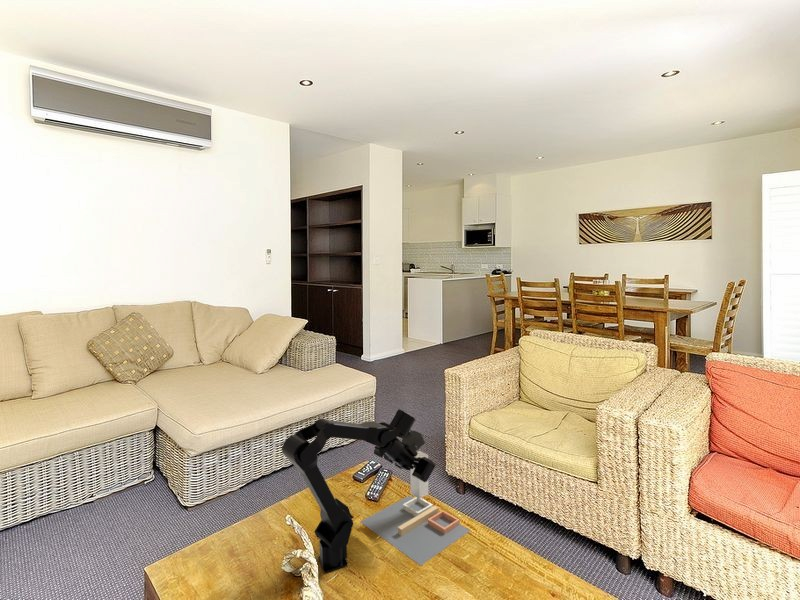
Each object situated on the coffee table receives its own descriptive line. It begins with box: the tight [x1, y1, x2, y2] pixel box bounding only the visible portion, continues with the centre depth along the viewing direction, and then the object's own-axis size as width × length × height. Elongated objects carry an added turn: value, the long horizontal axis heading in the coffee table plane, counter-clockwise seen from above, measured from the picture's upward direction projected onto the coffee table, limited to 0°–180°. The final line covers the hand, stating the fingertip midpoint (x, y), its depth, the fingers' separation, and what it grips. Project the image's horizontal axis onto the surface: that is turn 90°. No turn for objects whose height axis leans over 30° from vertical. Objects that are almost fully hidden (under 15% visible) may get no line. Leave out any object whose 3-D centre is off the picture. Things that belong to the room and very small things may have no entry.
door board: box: [360, 494, 472, 566], centre depth 131 cm, size 21×26×4 cm
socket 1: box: [403, 496, 434, 516], centre depth 140 cm, size 7×7×2 cm
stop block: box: [409, 450, 429, 499], centre depth 138 cm, size 4×4×13 cm
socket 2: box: [428, 509, 461, 534], centre depth 131 cm, size 7×7×2 cm
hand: (422, 472), depth 139 cm, fingers closed on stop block, 4 cm apart
